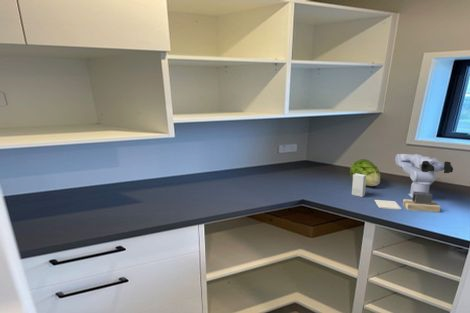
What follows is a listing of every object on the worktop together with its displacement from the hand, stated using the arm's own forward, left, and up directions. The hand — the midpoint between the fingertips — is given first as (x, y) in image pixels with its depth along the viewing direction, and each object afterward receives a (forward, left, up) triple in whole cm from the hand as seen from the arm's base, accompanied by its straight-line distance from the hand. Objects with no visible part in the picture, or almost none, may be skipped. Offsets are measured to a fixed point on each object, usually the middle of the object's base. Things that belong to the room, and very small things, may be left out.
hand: (442, 169), depth 134 cm
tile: (-5, -20, -22) cm, 30 cm away
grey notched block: (-4, -5, -19) cm, 20 cm away
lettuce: (-39, -24, -22) cm, 51 cm away
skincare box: (-17, -32, -22) cm, 42 cm away
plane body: (-4, -5, -22) cm, 23 cm away
